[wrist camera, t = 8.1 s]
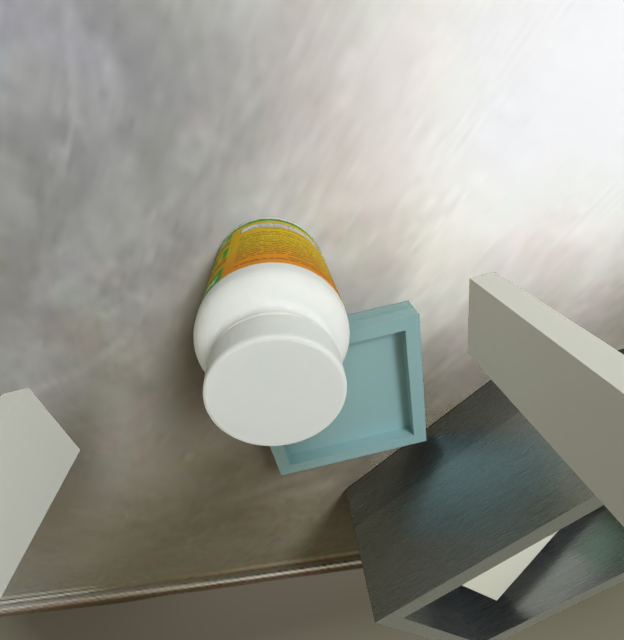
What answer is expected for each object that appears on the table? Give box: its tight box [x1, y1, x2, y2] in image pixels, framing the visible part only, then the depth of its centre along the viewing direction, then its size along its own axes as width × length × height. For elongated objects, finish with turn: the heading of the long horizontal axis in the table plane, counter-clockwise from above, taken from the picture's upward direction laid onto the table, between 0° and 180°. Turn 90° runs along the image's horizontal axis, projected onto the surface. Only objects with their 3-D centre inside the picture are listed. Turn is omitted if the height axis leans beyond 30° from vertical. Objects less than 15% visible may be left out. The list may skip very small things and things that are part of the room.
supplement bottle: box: [193, 217, 350, 446], centre depth 14 cm, size 5×5×10 cm
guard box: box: [346, 380, 624, 640], centre depth 24 cm, size 17×11×8 cm, turn 137°
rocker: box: [462, 531, 558, 601], centre depth 23 cm, size 10×7×2 cm
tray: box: [270, 301, 426, 476], centre depth 22 cm, size 10×10×2 cm
